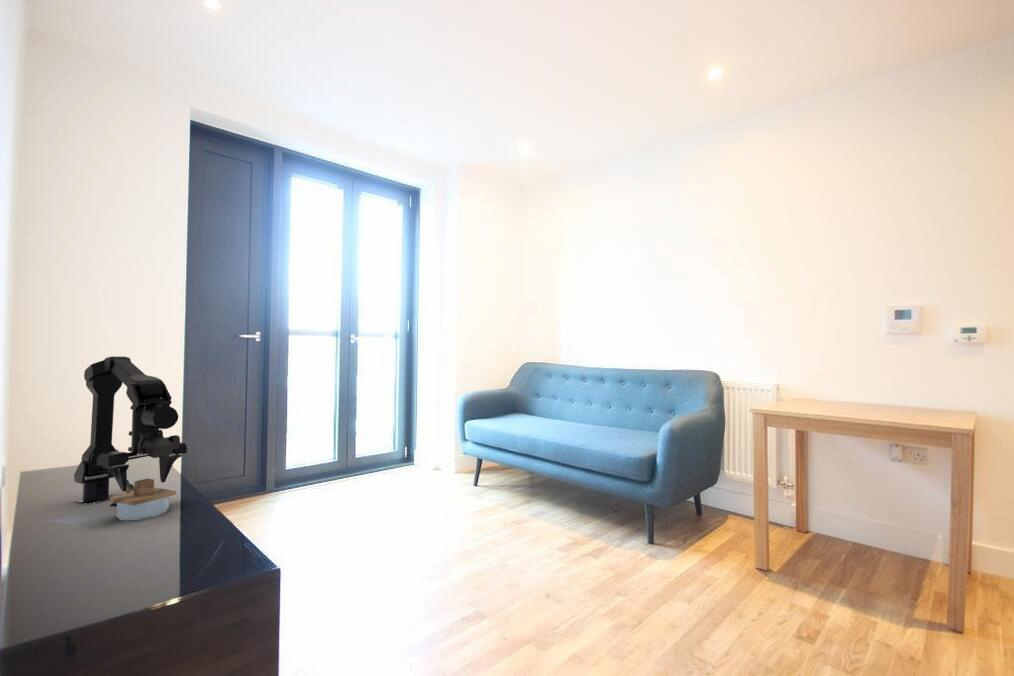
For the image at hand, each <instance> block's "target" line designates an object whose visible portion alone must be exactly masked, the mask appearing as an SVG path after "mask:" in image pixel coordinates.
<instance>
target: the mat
mask: <svg viewBox="0 0 1014 676" xmlns="http://www.w3.org/2000/svg"><path fill="white" fill-rule="evenodd" d="M114 515H117V511H116V512H115V511H110V510H105V509H104V510H103V509H99V508H95V509H91V510H87V511H82V512H79V513H75V514H72V515H67V516H63V517H59V518H55V519H52V522H51V523H57V524H60V525H63V526H64V525H66V526H70V527H72V526H75V525H81V524H83V523H84V524H85V523H87V522H91V521H95V520H98V519H99V520H100V519H103V518H106V517H110V516H114Z"/></svg>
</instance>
